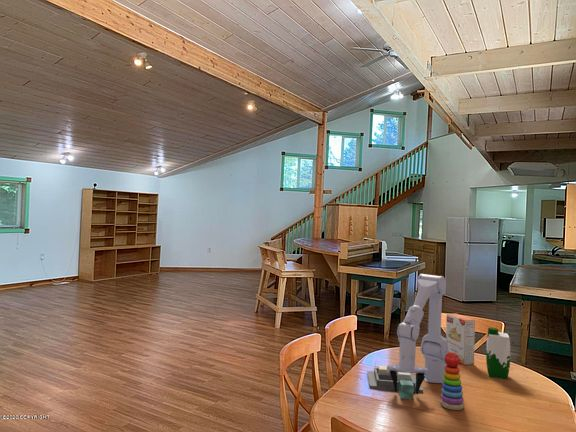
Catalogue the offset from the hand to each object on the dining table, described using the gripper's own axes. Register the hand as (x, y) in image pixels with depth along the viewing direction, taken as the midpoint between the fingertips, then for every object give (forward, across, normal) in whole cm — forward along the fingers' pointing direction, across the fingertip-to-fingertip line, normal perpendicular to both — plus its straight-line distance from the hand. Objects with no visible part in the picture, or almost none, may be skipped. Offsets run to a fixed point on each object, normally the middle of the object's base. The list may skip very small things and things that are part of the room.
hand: (406, 392), depth 154 cm
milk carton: (+2, +43, +30) cm, 53 cm away
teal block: (+2, 0, 0) cm, 2 cm away
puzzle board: (+1, -3, +12) cm, 13 cm away
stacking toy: (+2, +15, -6) cm, 16 cm away
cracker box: (+2, +32, +48) cm, 58 cm away
